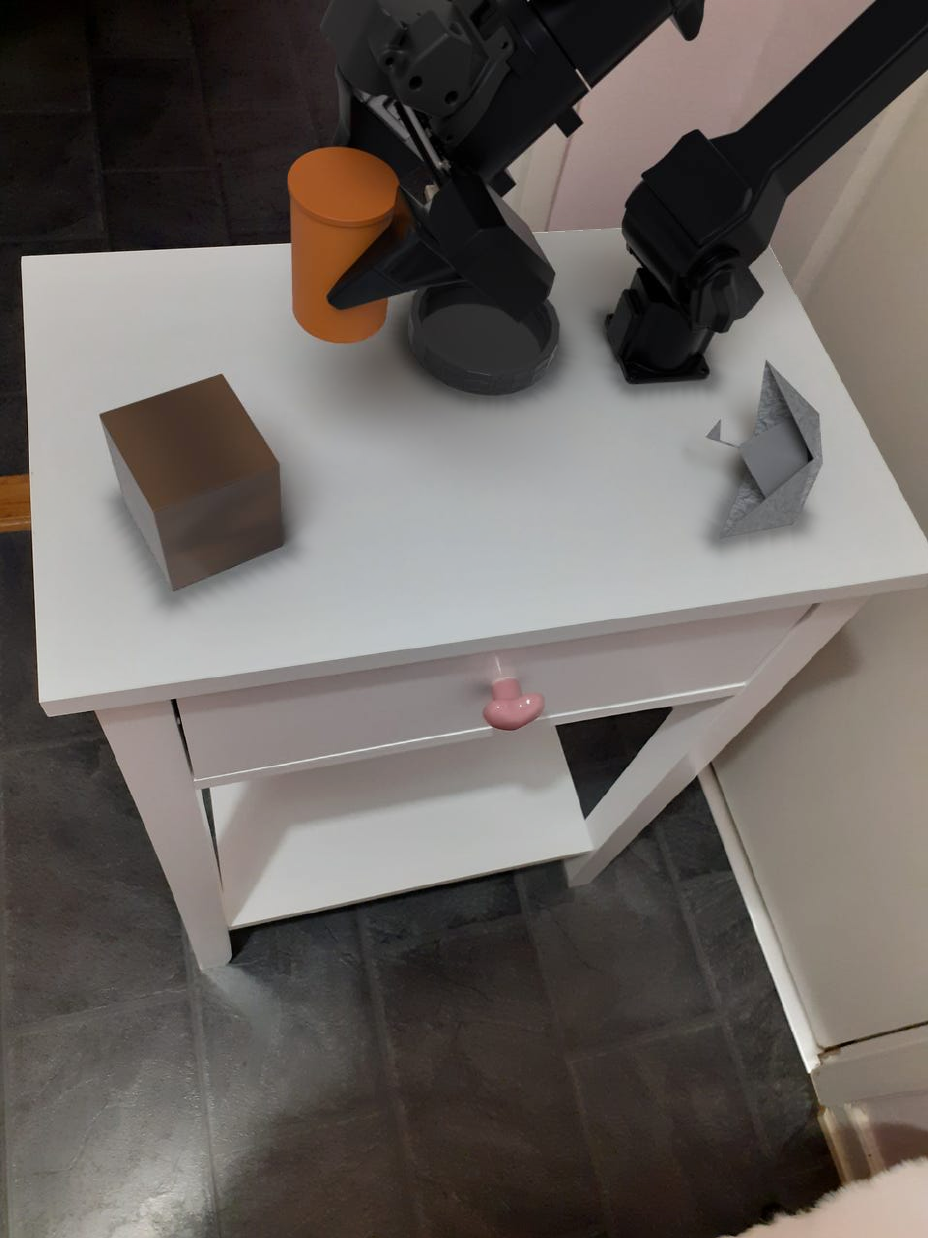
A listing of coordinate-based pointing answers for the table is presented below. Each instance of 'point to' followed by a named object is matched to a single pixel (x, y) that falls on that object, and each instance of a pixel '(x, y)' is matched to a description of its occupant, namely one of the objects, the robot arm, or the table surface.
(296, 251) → the orange tin can
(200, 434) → the block
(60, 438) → the table surface
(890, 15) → the robot arm
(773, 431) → the paper boat
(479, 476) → the table surface
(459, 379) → the pan
